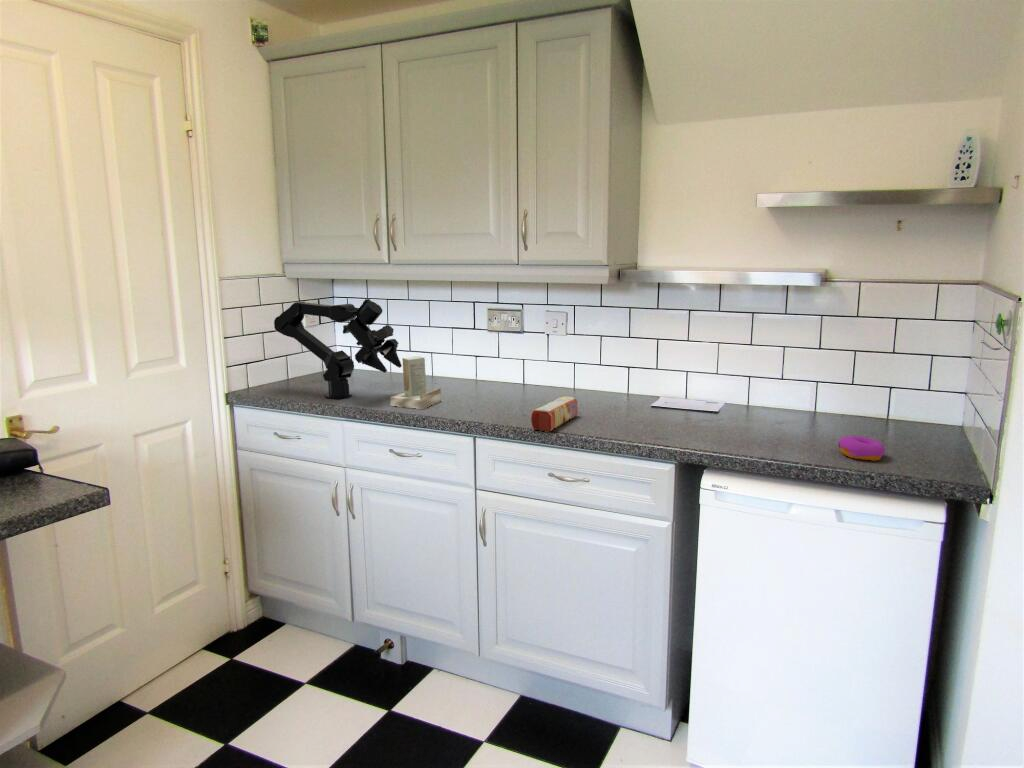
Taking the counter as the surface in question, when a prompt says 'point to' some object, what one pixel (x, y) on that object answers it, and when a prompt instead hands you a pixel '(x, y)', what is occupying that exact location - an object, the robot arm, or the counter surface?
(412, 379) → the skincare box
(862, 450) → the donut
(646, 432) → the counter surface
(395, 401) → the stand
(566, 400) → the snack package
